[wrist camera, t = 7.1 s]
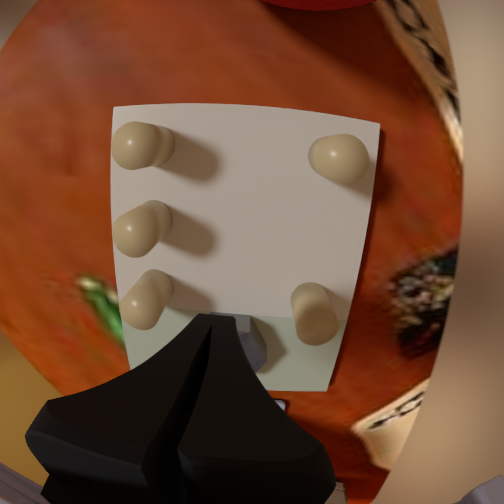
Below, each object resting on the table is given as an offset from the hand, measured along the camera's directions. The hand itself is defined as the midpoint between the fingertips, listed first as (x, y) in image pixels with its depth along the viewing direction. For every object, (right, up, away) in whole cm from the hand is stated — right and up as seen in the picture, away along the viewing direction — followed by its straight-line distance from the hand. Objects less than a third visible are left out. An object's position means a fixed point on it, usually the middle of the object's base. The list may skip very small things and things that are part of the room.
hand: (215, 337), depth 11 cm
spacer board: (0, +2, +9) cm, 9 cm away
